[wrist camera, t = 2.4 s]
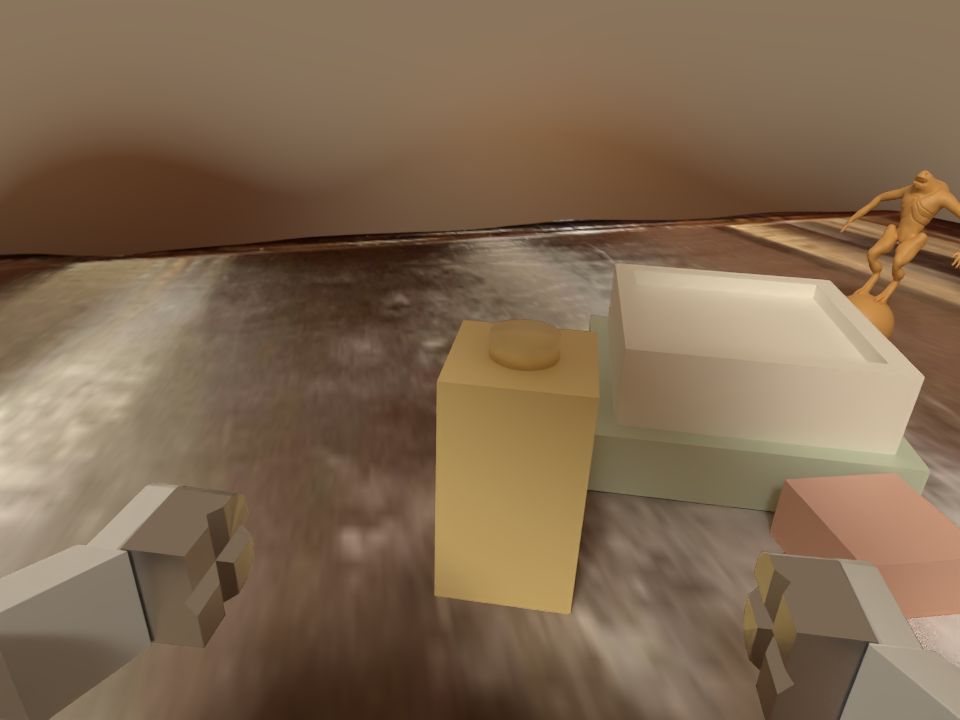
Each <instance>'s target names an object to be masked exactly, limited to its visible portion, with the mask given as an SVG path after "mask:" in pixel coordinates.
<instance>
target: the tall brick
mask: <svg viewBox="0 0 960 720" xmlns="http://www.w3.org/2000/svg"><path fill="white" fill-rule="evenodd" d="M599 399H600V395H599V365H598V335H597V332H589V331H579V330H568V329H557V328H556V327H554V326H552V325H550V324H547V323H544V322H541V321H536V320H529V319H512V320H506V321H502V322H499V323H492V322H481V321H470V320H463V322H462V325H461V327H460V329H459V332H458V334H457V336H456V338H455V341H454V343H453V345H452V348H451V350H450V352H449V355H448V357H447V359H446V362H445V364H444V366H443V369H442V371H441V373H440V375H439V378H438V380H437V423H436V510H435V596H440V597H448V598H455V599H462V600H469V601H476V602H483V603H491V604H498V605H505V606H512V607H519V608H526V609H534V610H541V611H548V612H555V613H562V614H570V612H571V605H572V598H573V590H574V583H575V576H576V568H577V561H578V553H579V546H580V539H581V531H582V524H583V517H584V509H585V502H586V495H587V487H588V480H589V472H590V465H591V458H592V450H593V443H594V436H595V428H596V421H597V413H598V406H599Z"/></svg>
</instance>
